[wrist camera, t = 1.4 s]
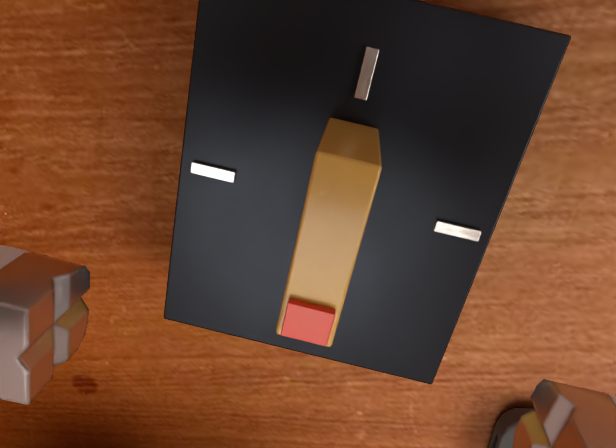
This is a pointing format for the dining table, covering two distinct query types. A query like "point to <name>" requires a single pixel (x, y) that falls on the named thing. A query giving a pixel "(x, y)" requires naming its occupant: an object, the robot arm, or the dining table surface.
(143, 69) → the dining table surface
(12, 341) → the robot arm
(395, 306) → the plate
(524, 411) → the smartphone
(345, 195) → the thumb turn
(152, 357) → the dining table surface
